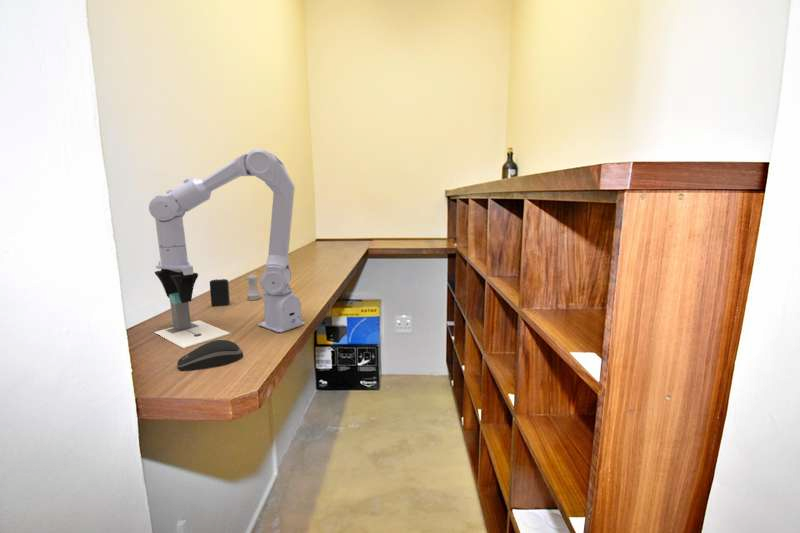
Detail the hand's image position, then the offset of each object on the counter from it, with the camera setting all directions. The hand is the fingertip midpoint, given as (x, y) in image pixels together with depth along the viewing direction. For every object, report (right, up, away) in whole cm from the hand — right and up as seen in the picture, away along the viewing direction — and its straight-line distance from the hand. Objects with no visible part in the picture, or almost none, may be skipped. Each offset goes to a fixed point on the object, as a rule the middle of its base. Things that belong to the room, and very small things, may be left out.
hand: (179, 299), depth 96 cm
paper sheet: (+4, -8, -1) cm, 9 cm away
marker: (0, -7, +1) cm, 8 cm away
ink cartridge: (0, -4, +23) cm, 23 cm away
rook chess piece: (+8, -3, +29) cm, 30 cm away
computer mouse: (+16, -12, -17) cm, 26 cm away
